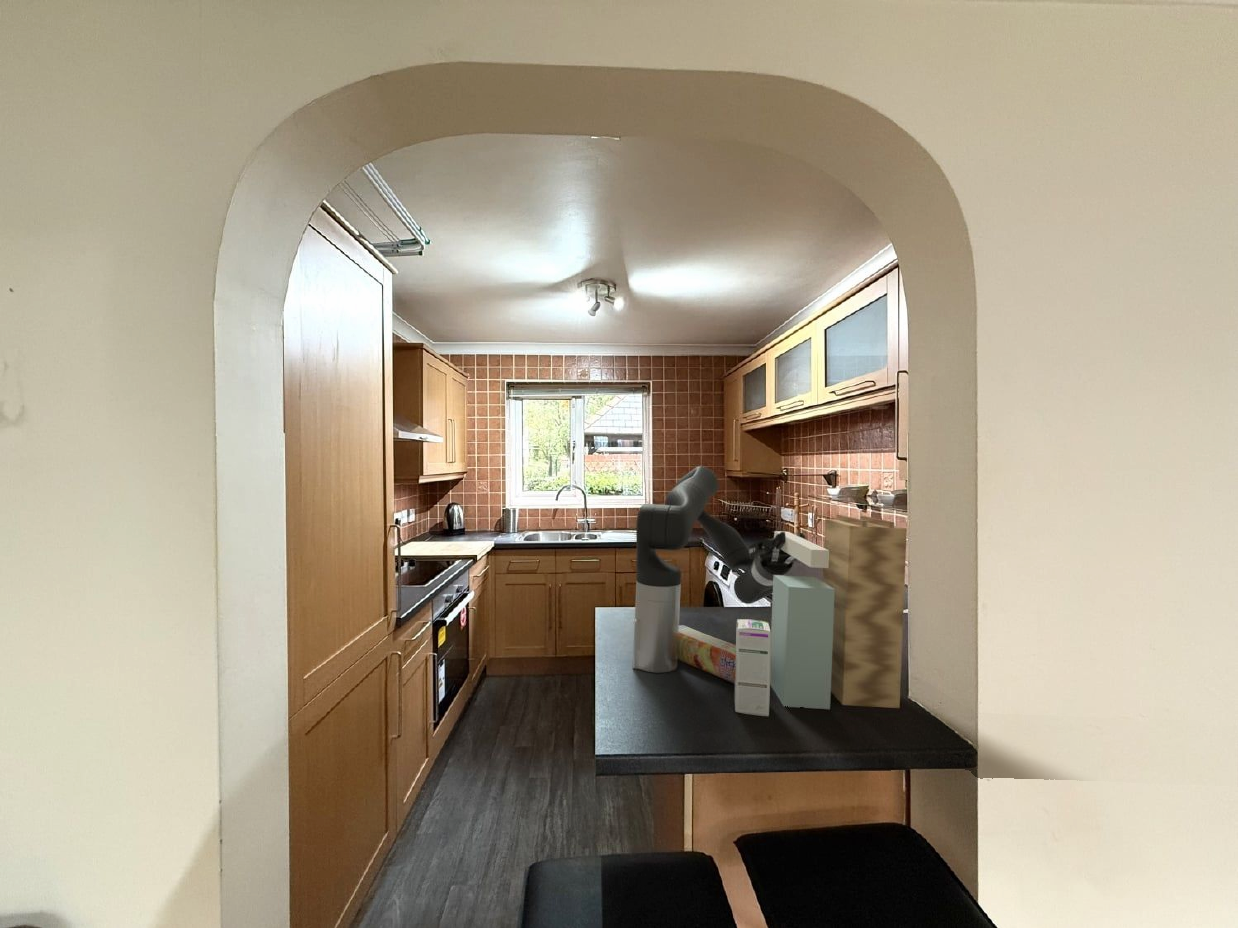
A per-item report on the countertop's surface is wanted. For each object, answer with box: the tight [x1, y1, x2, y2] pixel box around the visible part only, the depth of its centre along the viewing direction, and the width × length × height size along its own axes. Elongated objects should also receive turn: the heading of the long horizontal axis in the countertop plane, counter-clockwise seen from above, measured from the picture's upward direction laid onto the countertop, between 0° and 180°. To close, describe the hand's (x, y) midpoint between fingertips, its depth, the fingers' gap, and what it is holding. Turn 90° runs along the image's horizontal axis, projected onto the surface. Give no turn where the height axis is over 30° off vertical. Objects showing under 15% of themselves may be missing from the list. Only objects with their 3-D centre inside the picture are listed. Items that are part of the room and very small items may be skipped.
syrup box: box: [734, 618, 771, 717], centre depth 90 cm, size 6×6×14 cm
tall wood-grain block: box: [822, 514, 907, 709], centre depth 98 cm, size 10×12×33 cm
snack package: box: [677, 625, 736, 685], centre depth 106 cm, size 21×7×7 cm, turn 41°
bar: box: [773, 530, 829, 569], centre depth 99 cm, size 3×23×3 cm, turn 178°
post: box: [770, 575, 835, 710], centre depth 95 cm, size 8×10×21 cm
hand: (792, 536), depth 102 cm, fingers closed on bar, 3 cm apart
